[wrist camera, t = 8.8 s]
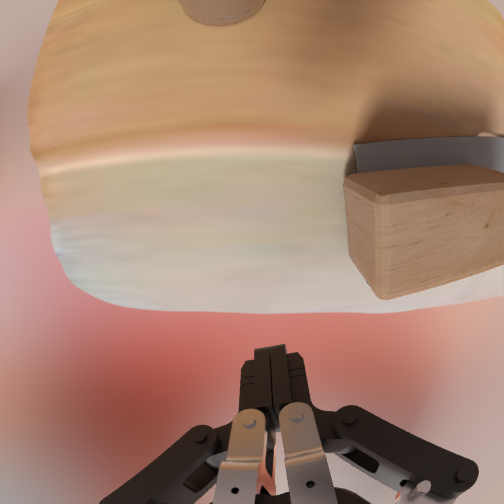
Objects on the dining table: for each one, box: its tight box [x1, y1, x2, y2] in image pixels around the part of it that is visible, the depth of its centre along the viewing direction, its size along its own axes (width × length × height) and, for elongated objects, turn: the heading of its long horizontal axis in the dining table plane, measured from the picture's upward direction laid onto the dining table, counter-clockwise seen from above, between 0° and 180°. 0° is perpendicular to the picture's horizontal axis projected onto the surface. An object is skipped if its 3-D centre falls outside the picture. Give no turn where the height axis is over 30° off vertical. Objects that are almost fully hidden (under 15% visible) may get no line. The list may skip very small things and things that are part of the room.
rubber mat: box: [353, 136, 504, 284], centre depth 28 cm, size 17×27×1 cm, turn 103°
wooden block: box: [343, 164, 504, 300], centre depth 24 cm, size 10×10×20 cm
